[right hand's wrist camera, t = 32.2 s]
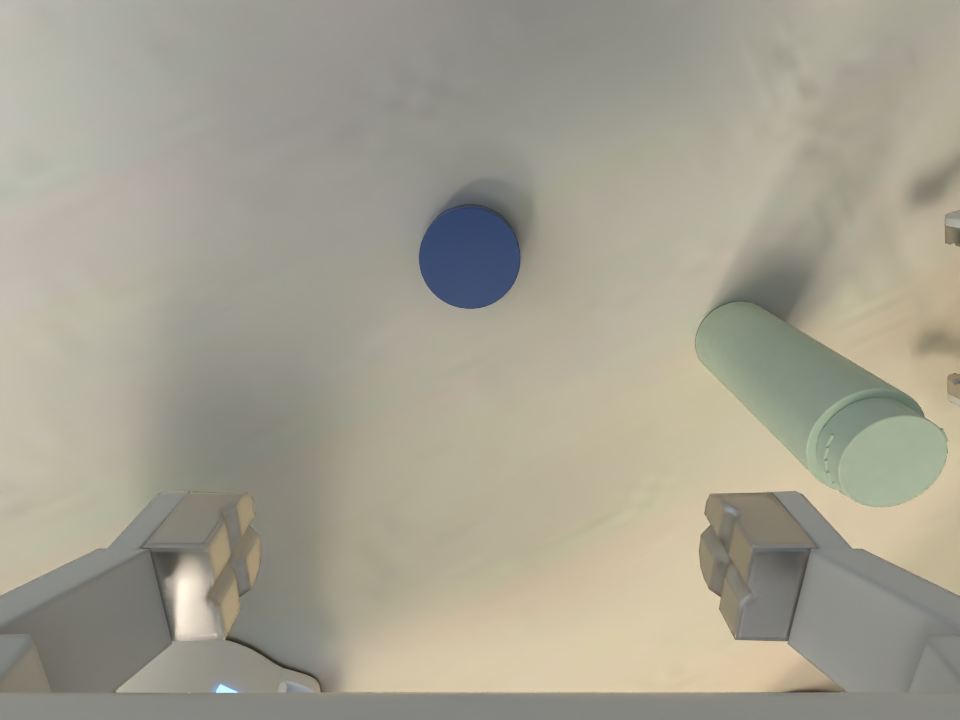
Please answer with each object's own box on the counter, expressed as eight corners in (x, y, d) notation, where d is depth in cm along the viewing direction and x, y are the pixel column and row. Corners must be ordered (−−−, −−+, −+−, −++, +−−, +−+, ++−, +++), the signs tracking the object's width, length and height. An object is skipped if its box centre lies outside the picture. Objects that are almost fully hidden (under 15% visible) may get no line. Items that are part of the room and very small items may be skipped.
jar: (714, 387, 39) (853, 535, 24) (682, 327, 37) (809, 445, 23) (785, 350, 38) (973, 480, 23) (754, 286, 36) (936, 383, 22)
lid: (448, 186, 34) (446, 189, 32) (535, 232, 35) (538, 237, 33) (406, 274, 36) (402, 281, 34) (490, 316, 37) (491, 325, 35)
